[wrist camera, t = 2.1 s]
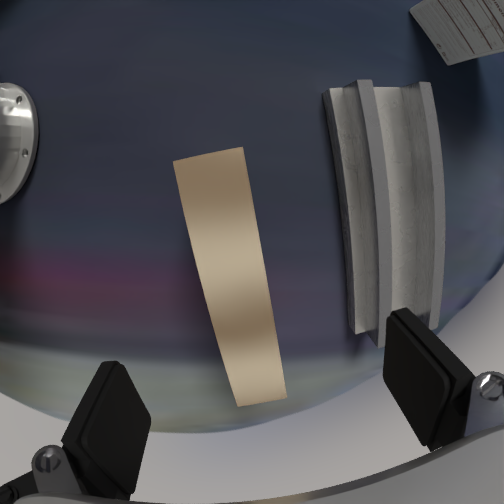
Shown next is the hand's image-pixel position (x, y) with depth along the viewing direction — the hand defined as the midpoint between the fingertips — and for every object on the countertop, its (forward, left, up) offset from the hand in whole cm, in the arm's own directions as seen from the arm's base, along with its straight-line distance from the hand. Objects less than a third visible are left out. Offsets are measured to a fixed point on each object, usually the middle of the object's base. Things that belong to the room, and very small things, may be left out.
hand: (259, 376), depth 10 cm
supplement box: (-19, +26, -17) cm, 36 cm away
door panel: (0, 0, -17) cm, 17 cm away
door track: (0, +14, -17) cm, 22 cm away
